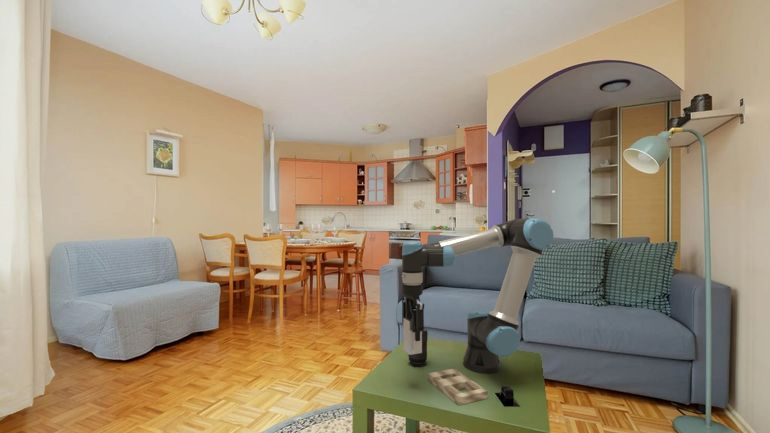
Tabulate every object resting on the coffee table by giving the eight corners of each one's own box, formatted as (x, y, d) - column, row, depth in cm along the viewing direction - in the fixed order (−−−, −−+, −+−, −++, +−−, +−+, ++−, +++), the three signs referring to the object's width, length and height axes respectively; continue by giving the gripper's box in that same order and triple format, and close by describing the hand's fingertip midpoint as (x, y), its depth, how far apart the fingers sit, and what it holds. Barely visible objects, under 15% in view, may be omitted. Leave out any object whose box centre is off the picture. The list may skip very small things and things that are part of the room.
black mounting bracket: (490, 392, 125) (490, 379, 125) (511, 392, 125) (511, 379, 125) (503, 411, 113) (503, 396, 113) (525, 411, 113) (525, 396, 113)
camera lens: (426, 368, 144) (426, 332, 144) (407, 366, 145) (407, 330, 146) (428, 360, 152) (428, 326, 152) (409, 359, 153) (409, 325, 154)
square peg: (415, 348, 132) (415, 316, 132) (421, 352, 127) (421, 319, 127) (403, 350, 130) (403, 317, 130) (409, 354, 125) (409, 321, 125)
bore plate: (453, 374, 138) (453, 368, 138) (487, 398, 120) (487, 391, 120) (427, 380, 133) (427, 373, 133) (458, 405, 115) (458, 397, 115)
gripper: (392, 280, 136) (393, 340, 135) (415, 288, 119) (415, 356, 119) (410, 279, 139) (410, 337, 138) (433, 286, 122) (434, 353, 122)
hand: (412, 346), depth 129 cm, fingers closed on square peg, 5 cm apart
